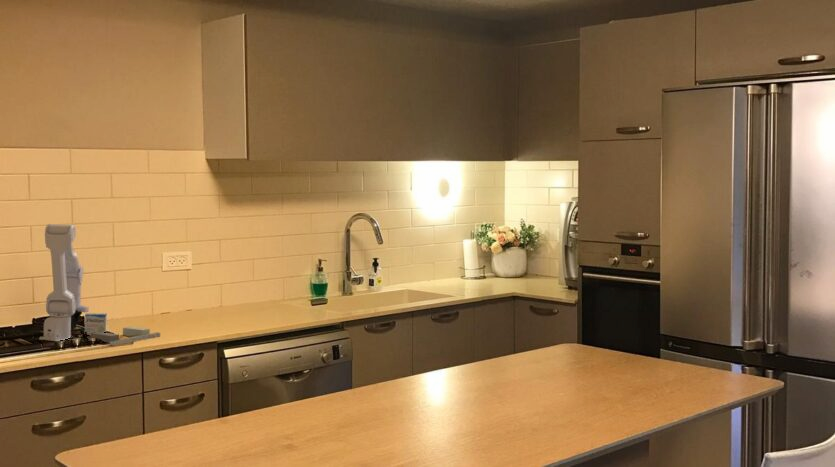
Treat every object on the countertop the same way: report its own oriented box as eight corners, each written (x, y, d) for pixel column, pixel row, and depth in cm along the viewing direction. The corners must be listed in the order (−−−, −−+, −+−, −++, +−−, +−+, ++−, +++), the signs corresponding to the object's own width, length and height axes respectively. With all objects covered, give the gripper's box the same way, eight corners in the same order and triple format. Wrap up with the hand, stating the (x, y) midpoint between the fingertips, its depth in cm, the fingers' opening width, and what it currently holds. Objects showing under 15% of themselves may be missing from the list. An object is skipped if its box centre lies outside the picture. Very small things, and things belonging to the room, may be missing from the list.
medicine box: (84, 336, 357) (84, 314, 356) (85, 334, 361) (85, 312, 361) (105, 336, 359) (106, 314, 358) (106, 334, 363) (106, 312, 363)
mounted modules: (111, 343, 343) (111, 335, 343) (91, 341, 347) (91, 333, 347) (149, 336, 362) (149, 328, 362) (129, 333, 366) (130, 326, 366)
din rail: (113, 345, 339) (113, 341, 339) (109, 345, 340) (109, 341, 340) (160, 336, 363) (160, 332, 363) (157, 335, 364) (157, 332, 364)
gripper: (94, 295, 365) (93, 329, 366) (67, 292, 371) (66, 325, 372) (81, 297, 358) (80, 331, 359) (53, 293, 364) (53, 327, 365)
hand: (72, 328), depth 365 cm, fingers closed
